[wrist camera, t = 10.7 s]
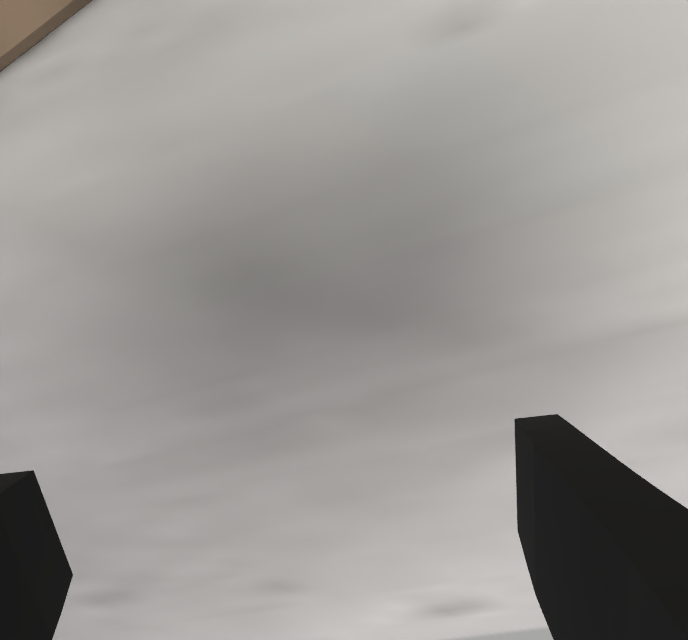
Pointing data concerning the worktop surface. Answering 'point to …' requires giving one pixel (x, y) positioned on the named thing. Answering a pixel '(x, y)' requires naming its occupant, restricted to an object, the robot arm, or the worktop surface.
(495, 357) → the worktop surface
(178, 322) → the worktop surface
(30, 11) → the holder
